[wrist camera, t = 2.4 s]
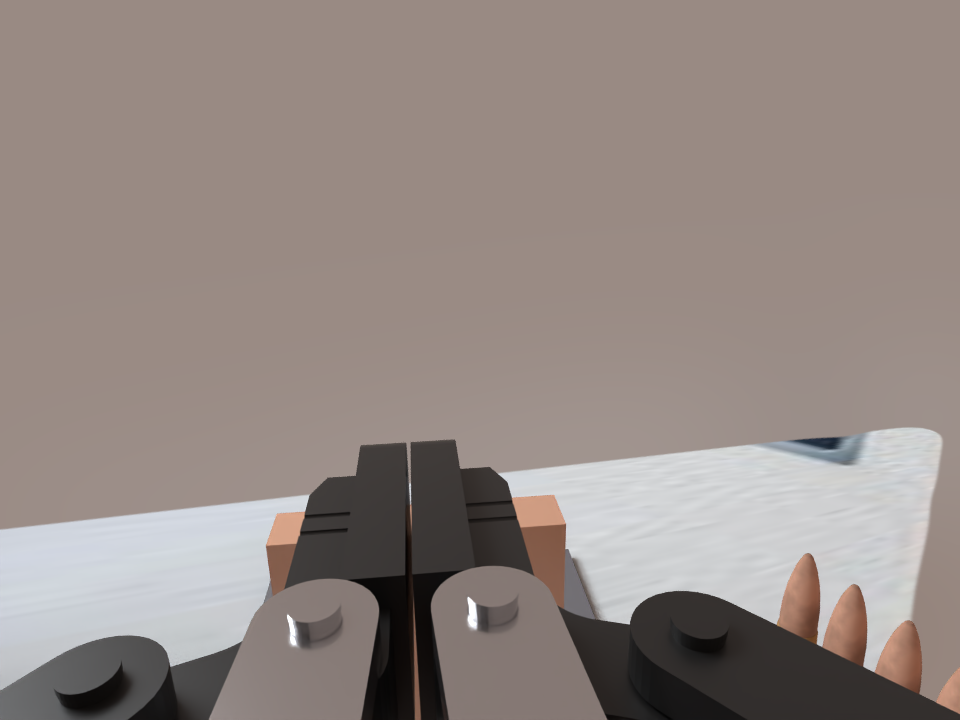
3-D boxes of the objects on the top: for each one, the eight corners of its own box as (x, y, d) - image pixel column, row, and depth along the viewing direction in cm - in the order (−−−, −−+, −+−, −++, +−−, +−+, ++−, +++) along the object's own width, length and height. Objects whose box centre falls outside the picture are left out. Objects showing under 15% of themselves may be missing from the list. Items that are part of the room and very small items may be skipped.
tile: (302, 815, 26) (266, 545, 22) (310, 766, 28) (277, 511, 24) (559, 788, 27) (565, 524, 23) (548, 742, 29) (553, 492, 25)
